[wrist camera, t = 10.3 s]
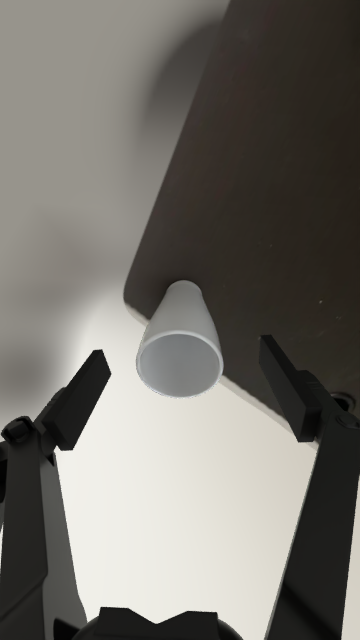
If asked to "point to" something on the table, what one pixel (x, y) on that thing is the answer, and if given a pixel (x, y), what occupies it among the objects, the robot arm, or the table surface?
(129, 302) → the table surface
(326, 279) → the table surface
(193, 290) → the drinking glass
